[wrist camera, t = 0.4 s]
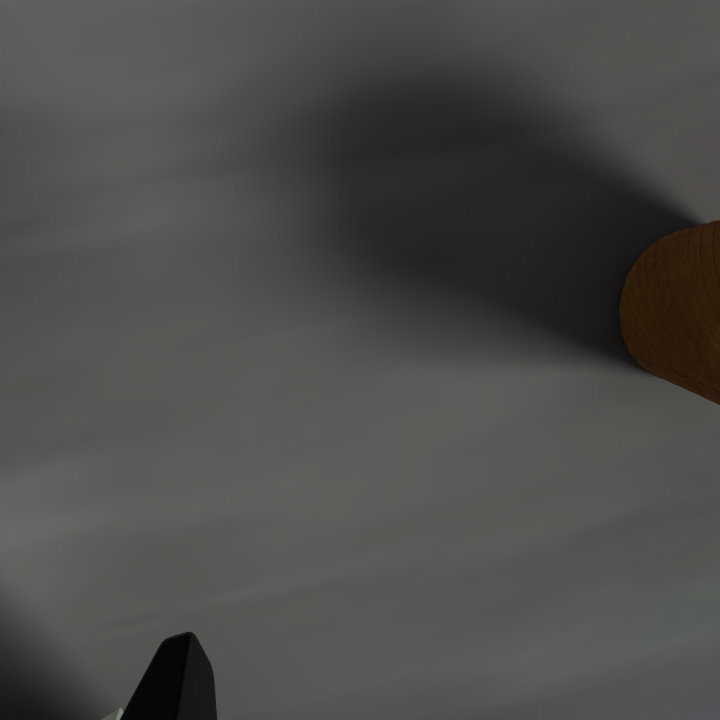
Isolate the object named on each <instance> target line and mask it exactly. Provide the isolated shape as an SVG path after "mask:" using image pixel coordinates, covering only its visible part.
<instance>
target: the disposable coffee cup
mask: <svg viewBox="0 0 720 720" xmlns="http://www.w3.org/2000/svg"><path fill="white" fill-rule="evenodd" d="M619 317H620V329H621V333H622V337H623V340H624V342H625V344H626V346H627V349H628V351H629V353H630V354H631V355H632V356H633V358H634V359H635V360H636V361H637V363H638V364H639V365H640V366H641V367H643V368H644V369H645V370H646V371H647V372H649V373H651V374H653V375H655V376H657V377H659V378H662V379H664V380H667V381H669V382H671V383H673V384H675V385H678V386H680V387H682V388H684V389H686V390H689V391H691V392H693V393H695V394H697V395H700V396H702V397H704V398H706V399H708V400H711V401H713V402H715V403H717V404H719V405H720V221H719V220H717V221H712V222H710V223H708V224H703V225H700V226H696V227H691V228H688V229H684V230H679V231H676V232H673V233H670V234H668V235H665V236H664V237H662V238H661V239H659V240H658V241H656V242H655V243H653V244H652V245H650V246H649V247H648V248H647V249H646V250H645V251H644V252H643V253H642V254H641V255H640V257H639V258H638V259H637V261H636V262H635V263H634V265H633V266H632V268H631V270H630V272H629V274H628V276H627V278H626V280H625V283H624V286H623V289H622V293H621V298H620V305H619Z"/></svg>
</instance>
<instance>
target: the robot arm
mask: <svg viewBox="0 0 720 720" xmlns="http://www.w3.org/2000/svg"><path fill="white" fill-rule="evenodd" d="M120 720H217V711H216V697H215V683H214V675H213V670H212V666H211V664H210V661H209V660H208V658H207V656H206V654H205V652H204V650H203V648H202V646H201V645H200V643H199V641H198V639H197V637H196V636H195V634H194V633H192V632H185V633H182V634H179V635H175V636H172V637H169V638H167V639H165V640H164V641H163V642H162V643H161V645H160V646H159V648H158V650H157V652H156V654H155V655H154V657H153V659H152V661H151V663H150V665H149V666H148V668H147V670H146V672H145V674H144V676H143V677H142V679H141V681H140V683H139V685H138V687H137V688H136V690H135V692H134V694H133V696H132V698H131V699H130V701H129V703H128V705H127V707H126V709H125V711H124V712H123V714H122V716H121V718H120Z"/></svg>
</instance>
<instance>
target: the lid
mask: <svg viewBox="0 0 720 720" xmlns="http://www.w3.org/2000/svg"><path fill="white" fill-rule="evenodd" d="M123 712H124V711H123V710H122V709H121V708H118V709H117V710H115V711H114V712H112V713H111V714H109V715H108V716H106V717H105V718H103V719H102V720H120V718H121V716H122V714H123Z"/></svg>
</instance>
